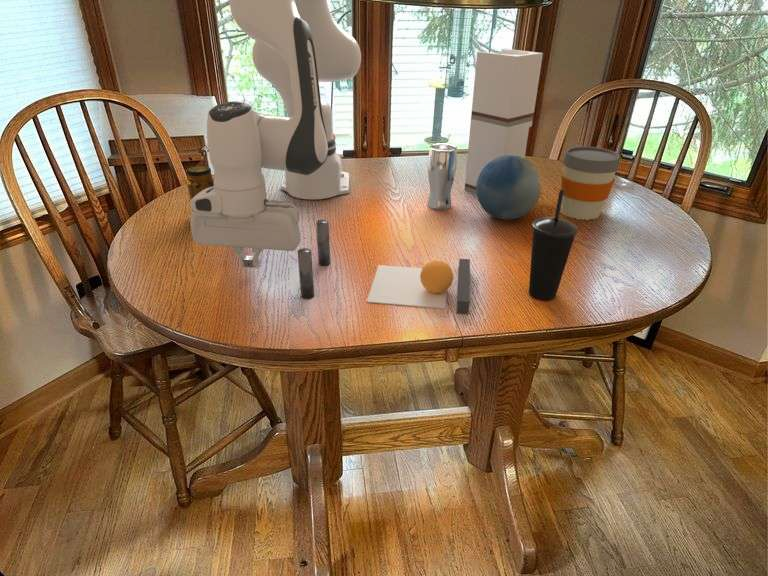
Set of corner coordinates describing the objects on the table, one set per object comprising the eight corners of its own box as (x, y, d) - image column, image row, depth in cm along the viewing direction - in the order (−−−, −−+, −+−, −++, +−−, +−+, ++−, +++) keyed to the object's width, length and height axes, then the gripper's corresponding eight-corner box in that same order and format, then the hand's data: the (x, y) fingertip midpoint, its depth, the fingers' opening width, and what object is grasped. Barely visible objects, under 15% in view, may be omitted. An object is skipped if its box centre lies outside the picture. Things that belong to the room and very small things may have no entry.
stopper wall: (458, 269, 105) (459, 258, 104) (468, 270, 105) (469, 259, 104) (456, 313, 92) (457, 300, 90) (468, 314, 91) (469, 301, 90)
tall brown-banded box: (521, 192, 144) (542, 53, 126) (497, 201, 138) (516, 56, 120) (488, 181, 151) (504, 48, 133) (464, 190, 145) (477, 51, 127)
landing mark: (378, 265, 106) (378, 265, 106) (448, 271, 105) (448, 270, 105) (366, 302, 94) (366, 301, 94) (445, 309, 93) (445, 308, 93)
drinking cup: (556, 283, 101) (576, 182, 91) (569, 304, 94) (593, 198, 84) (516, 283, 101) (532, 182, 91) (527, 305, 94) (545, 198, 84)
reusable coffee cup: (553, 219, 128) (564, 158, 121) (554, 201, 139) (565, 144, 131) (608, 225, 125) (623, 163, 117) (605, 207, 135) (619, 148, 128)
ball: (418, 280, 101) (421, 253, 97) (450, 282, 101) (453, 255, 97) (419, 298, 96) (421, 270, 92) (452, 300, 96) (456, 272, 92)
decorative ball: (481, 202, 137) (487, 144, 130) (539, 211, 132) (550, 152, 125) (466, 223, 125) (472, 161, 118) (530, 234, 120) (540, 170, 113)
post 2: (320, 260, 108) (317, 219, 104) (331, 260, 108) (329, 220, 103) (317, 265, 106) (314, 224, 102) (328, 266, 106) (326, 224, 101)
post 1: (303, 291, 97) (299, 247, 93) (315, 292, 97) (313, 248, 92) (299, 298, 95) (295, 253, 91) (312, 299, 95) (309, 254, 90)
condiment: (195, 212, 129) (186, 164, 123) (230, 211, 130) (223, 163, 124) (189, 224, 123) (179, 174, 117) (226, 223, 124) (218, 173, 118)
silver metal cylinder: (443, 212, 131) (448, 152, 123) (420, 206, 134) (423, 147, 127) (458, 204, 136) (463, 146, 128) (435, 198, 139) (438, 141, 132)
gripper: (302, 195, 97) (307, 262, 104) (196, 189, 99) (208, 255, 106) (292, 208, 91) (298, 278, 98) (180, 201, 94) (194, 269, 101)
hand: (250, 266), depth 102 cm, fingers closed
